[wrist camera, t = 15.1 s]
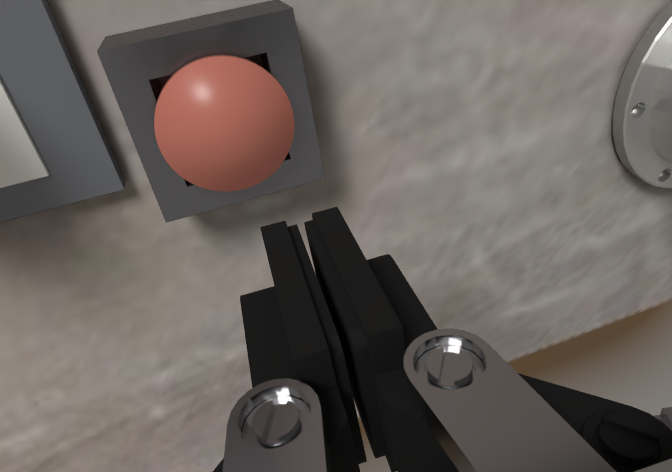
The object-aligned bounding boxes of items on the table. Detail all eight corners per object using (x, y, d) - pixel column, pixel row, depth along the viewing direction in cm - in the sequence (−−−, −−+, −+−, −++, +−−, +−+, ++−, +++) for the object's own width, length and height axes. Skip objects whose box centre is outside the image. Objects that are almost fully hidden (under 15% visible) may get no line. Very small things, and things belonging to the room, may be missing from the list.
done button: (266, 31, 20) (278, 42, 18) (293, 150, 23) (306, 172, 21) (135, 61, 20) (131, 76, 17) (179, 180, 22) (181, 206, 20)
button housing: (277, -1, 21) (292, 7, 19) (309, 154, 25) (325, 178, 22) (105, 36, 20) (96, 51, 18) (166, 192, 24) (165, 222, 21)
